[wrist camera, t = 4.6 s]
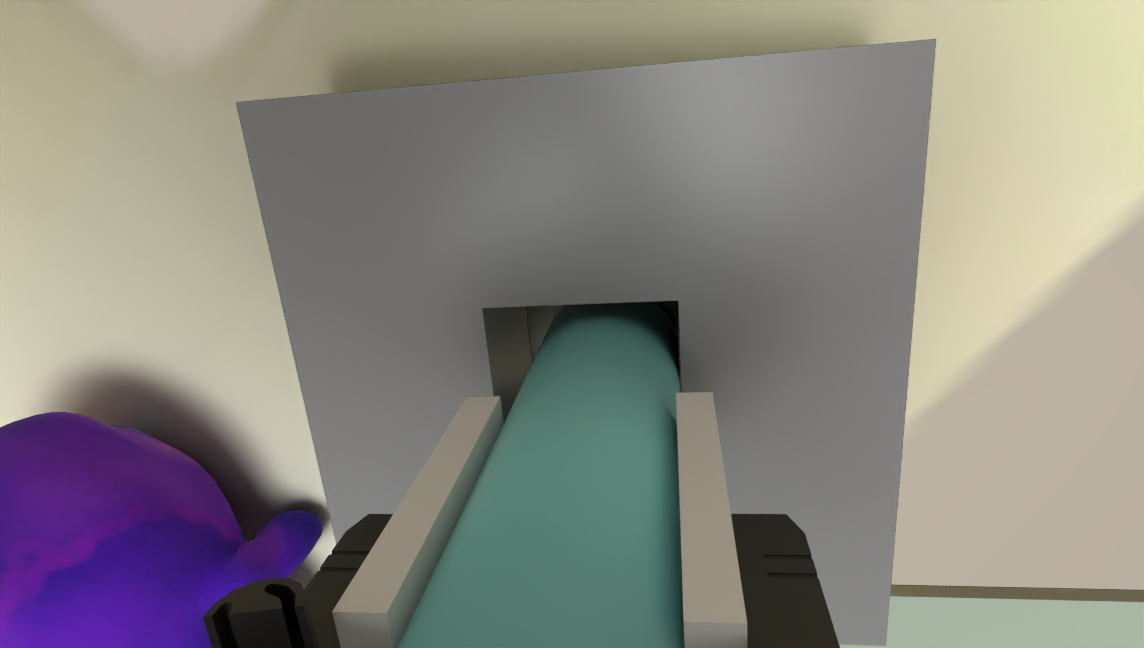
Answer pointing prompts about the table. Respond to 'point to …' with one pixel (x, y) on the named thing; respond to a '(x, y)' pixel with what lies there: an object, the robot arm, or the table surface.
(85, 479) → the toy
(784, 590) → the robot arm
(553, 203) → the socket
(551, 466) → the plug
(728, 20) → the table surface
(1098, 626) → the mat
